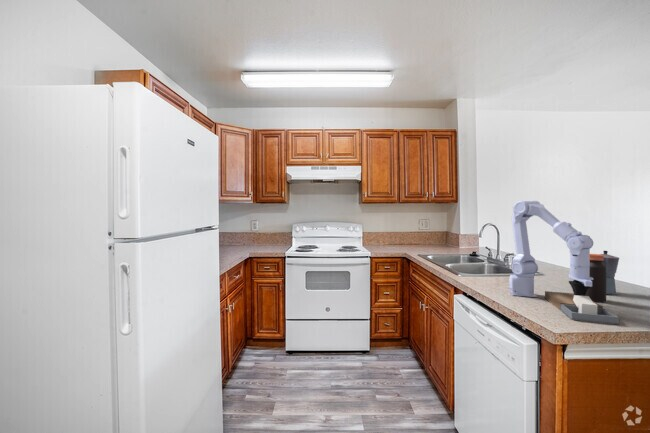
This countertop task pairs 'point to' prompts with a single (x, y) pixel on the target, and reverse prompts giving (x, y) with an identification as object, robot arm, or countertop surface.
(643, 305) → the countertop surface
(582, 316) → the box
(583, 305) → the tile front
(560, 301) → the walnut board
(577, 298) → the tile back
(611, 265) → the moka pot
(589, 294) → the bottle
